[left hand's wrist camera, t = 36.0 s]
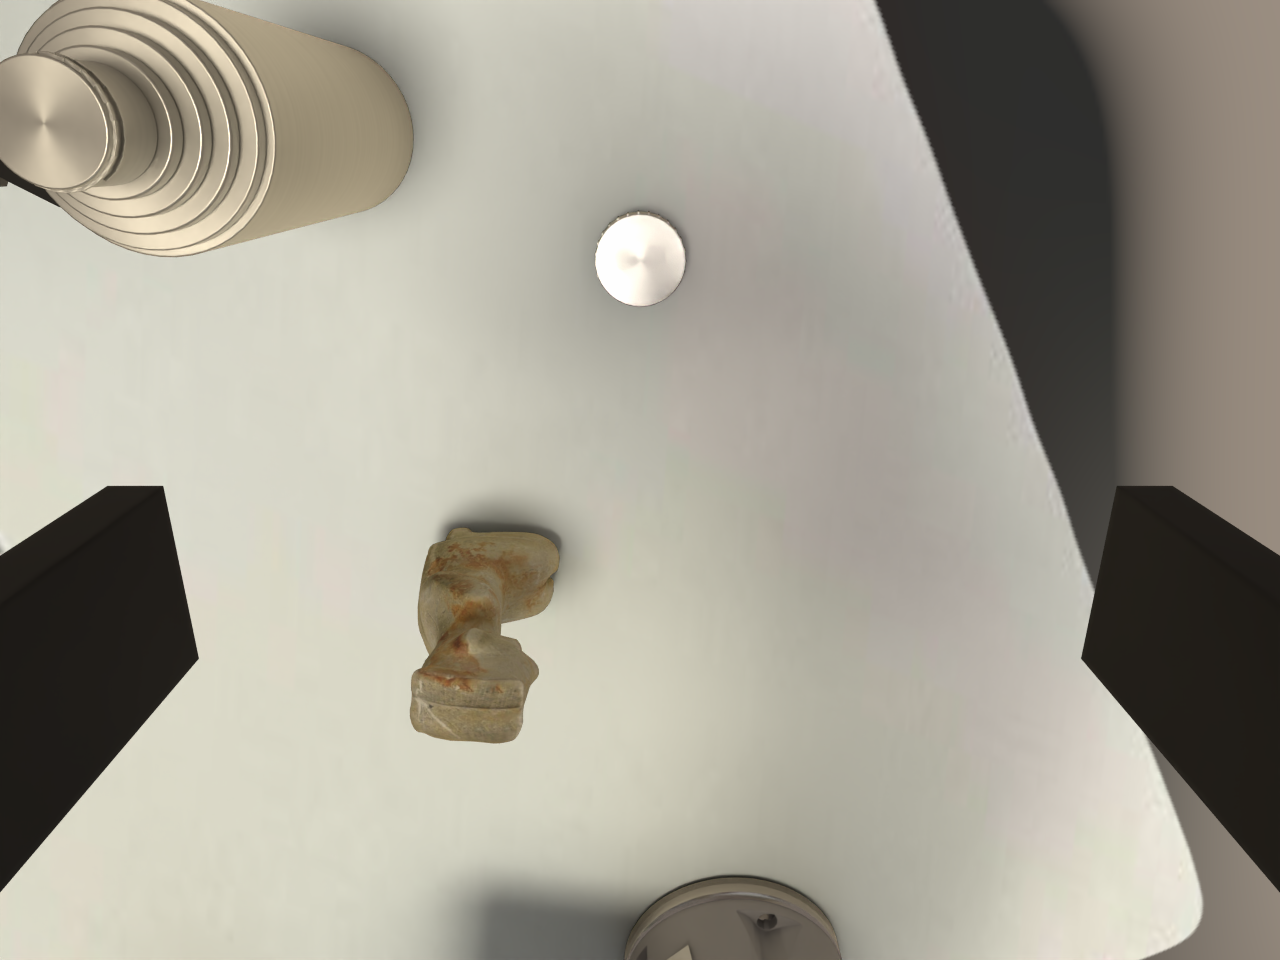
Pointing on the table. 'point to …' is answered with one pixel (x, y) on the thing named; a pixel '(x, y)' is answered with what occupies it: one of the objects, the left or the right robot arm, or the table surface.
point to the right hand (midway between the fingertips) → (127, 47)
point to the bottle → (197, 124)
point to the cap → (640, 259)
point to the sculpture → (478, 633)
